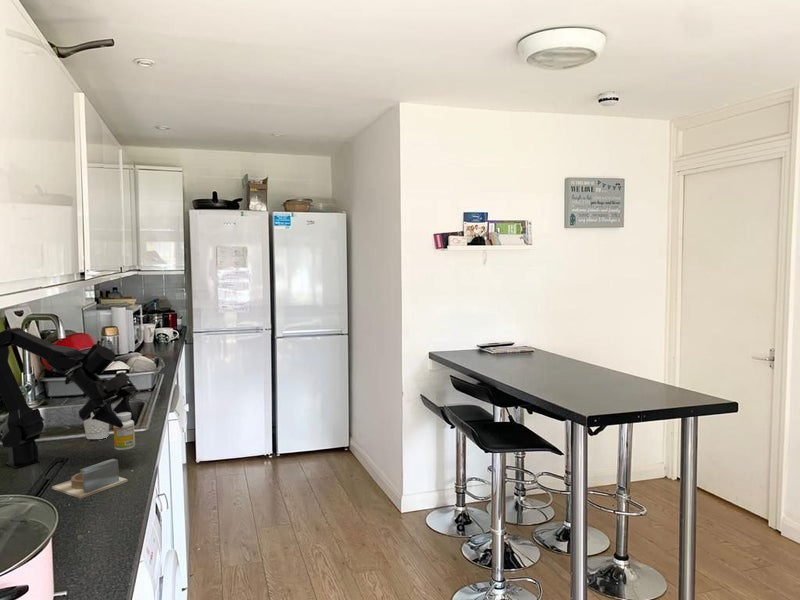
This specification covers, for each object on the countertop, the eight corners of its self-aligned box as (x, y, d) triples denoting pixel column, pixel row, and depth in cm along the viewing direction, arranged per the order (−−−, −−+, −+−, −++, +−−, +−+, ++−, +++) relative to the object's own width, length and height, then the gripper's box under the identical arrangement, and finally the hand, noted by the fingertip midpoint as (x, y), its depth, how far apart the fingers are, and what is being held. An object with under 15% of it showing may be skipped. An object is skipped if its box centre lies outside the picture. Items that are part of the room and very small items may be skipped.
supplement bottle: (118, 444, 172) (117, 411, 172) (137, 443, 173) (136, 411, 172) (111, 450, 167) (109, 416, 166) (131, 450, 168) (129, 416, 167)
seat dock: (51, 488, 156) (50, 464, 155) (99, 472, 167) (97, 450, 166) (80, 498, 149) (78, 473, 149) (127, 481, 160) (126, 458, 160)
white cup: (116, 435, 201) (114, 406, 200) (97, 442, 194) (95, 412, 193) (97, 433, 204) (96, 405, 203) (78, 440, 196) (76, 410, 195)
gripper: (86, 371, 159) (126, 413, 159) (128, 359, 178) (163, 396, 177) (61, 399, 161) (100, 441, 161) (105, 384, 180) (140, 421, 179)
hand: (128, 423), depth 169 cm, fingers closed on supplement bottle, 5 cm apart
